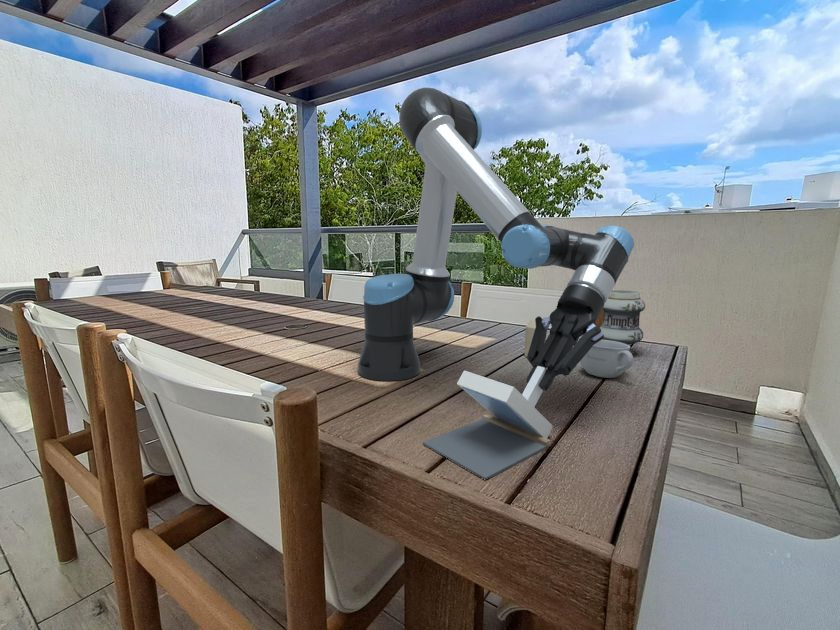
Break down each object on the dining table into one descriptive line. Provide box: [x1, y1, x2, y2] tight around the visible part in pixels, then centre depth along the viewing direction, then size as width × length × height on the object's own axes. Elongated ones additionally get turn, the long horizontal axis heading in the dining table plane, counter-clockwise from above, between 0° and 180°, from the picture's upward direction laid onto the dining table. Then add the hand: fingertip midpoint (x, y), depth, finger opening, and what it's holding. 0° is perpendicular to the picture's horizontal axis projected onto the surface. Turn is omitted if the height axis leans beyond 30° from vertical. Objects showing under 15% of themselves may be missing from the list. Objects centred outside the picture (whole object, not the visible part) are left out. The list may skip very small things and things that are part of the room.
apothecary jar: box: [599, 289, 646, 357], centre depth 120 cm, size 12×12×18 cm
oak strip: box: [482, 413, 552, 448], centre depth 70 cm, size 1×13×1 cm, turn 40°
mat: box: [422, 418, 551, 481], centre depth 65 cm, size 15×13×1 cm
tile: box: [456, 370, 554, 439], centre depth 67 cm, size 3×10×14 cm
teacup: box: [579, 340, 634, 379], centre depth 99 cm, size 14×11×8 cm
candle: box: [523, 320, 547, 358], centre depth 116 cm, size 6×6×10 cm
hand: (527, 402), depth 70 cm, fingers closed
